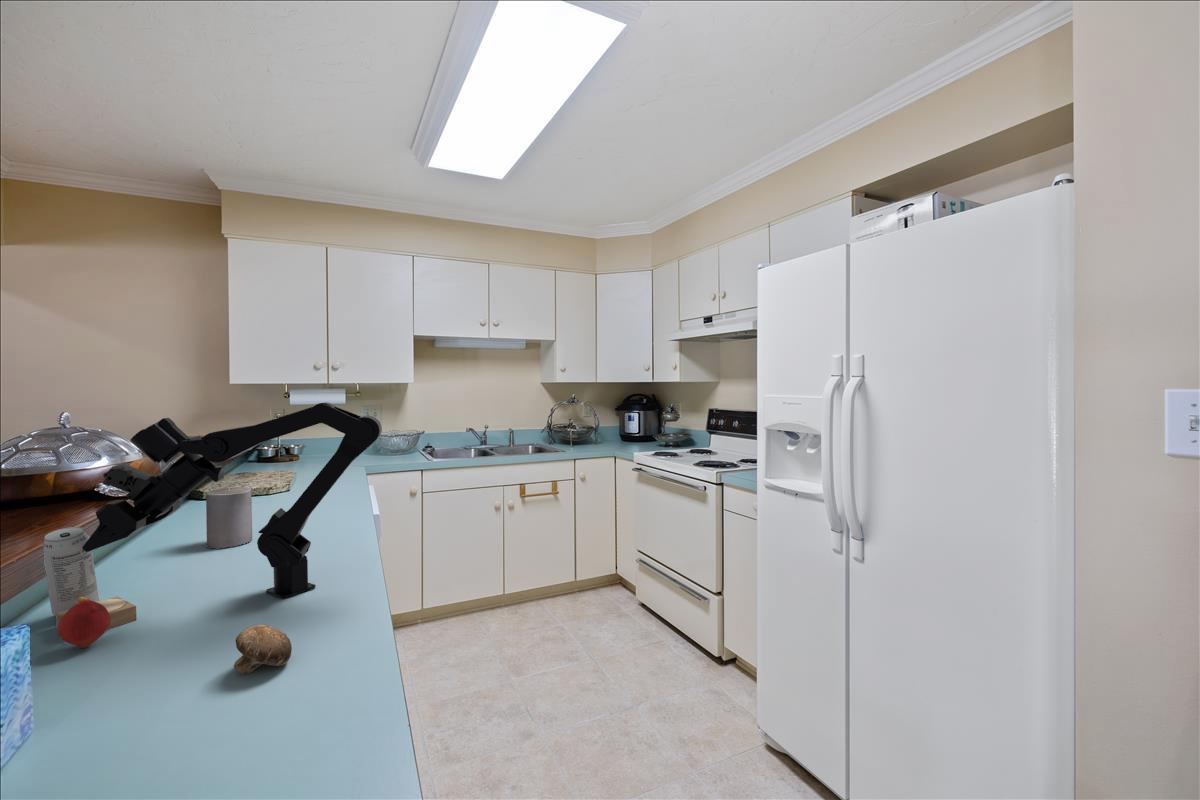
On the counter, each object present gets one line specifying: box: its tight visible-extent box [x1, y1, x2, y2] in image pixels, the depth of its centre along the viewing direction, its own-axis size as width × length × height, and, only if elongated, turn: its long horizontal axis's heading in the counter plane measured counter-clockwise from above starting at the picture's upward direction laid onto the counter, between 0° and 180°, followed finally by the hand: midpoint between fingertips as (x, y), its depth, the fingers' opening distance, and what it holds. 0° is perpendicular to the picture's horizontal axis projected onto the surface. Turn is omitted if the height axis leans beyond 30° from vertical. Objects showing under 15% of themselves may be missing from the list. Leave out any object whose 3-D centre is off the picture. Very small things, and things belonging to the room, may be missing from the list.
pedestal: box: [55, 596, 137, 630], centre depth 90 cm, size 8×8×3 cm
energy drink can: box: [41, 526, 100, 617], centre depth 93 cm, size 6×6×15 cm
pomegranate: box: [57, 597, 111, 649], centre depth 82 cm, size 6×6×8 cm
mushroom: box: [233, 624, 292, 675], centre depth 77 cm, size 8×8×6 cm
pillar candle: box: [205, 485, 253, 549], centre depth 136 cm, size 10×10×15 cm
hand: (99, 542), depth 95 cm, fingers open, 9 cm apart
